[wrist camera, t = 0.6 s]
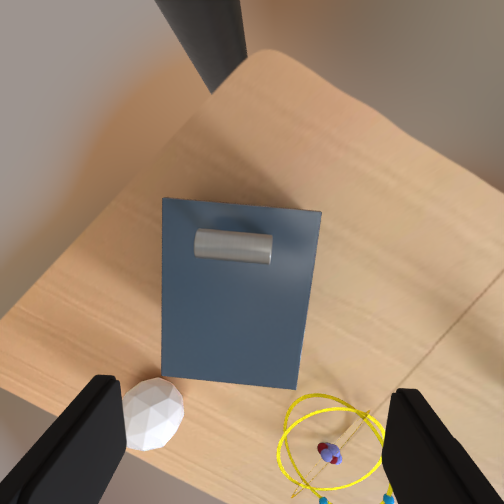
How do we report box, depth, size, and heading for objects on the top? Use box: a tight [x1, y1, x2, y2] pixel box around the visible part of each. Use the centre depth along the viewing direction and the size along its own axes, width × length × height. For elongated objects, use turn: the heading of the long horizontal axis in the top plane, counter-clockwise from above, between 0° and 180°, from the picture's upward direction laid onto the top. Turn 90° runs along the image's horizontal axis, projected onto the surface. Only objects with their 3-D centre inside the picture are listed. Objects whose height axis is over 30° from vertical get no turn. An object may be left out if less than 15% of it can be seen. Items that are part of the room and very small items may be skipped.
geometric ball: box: [122, 377, 184, 451], centre depth 34 cm, size 8×8×8 cm
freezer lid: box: [161, 197, 322, 390], centre depth 22 cm, size 16×13×6 cm
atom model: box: [277, 393, 394, 504], centre depth 33 cm, size 14×15×14 cm
